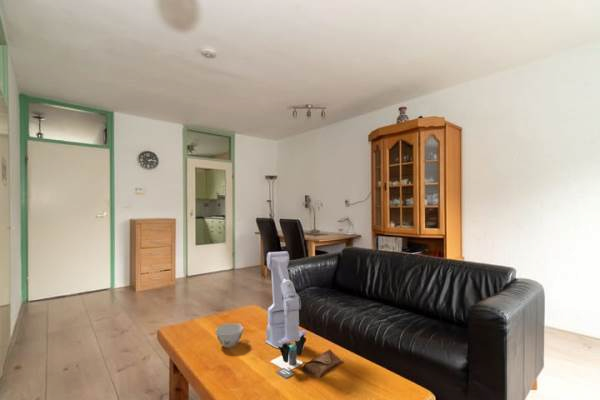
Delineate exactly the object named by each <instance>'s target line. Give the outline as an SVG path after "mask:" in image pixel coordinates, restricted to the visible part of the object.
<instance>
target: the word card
mask: <svg viewBox="0 0 600 400" xmlns="http://www.w3.org/2000/svg"><path fill="white" fill-rule="evenodd" d="M275 373H276V374H277V375H279V376H281V377H283V378H284V379H285V380H286V379H289V378H290V377H293V376H294V372H292V371H288V370H287V369H285V368H282V369H281V368H280V369H279V370H277V371H275Z"/></svg>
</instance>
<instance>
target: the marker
mask: <svg viewBox="0 0 600 400" xmlns="http://www.w3.org/2000/svg"><path fill="white" fill-rule="evenodd" d="M288 346H289V347H290V350H289V365H296V364H297V360H298V359H297V354H296V349H297V346H296V344H294V343H293V344H289V345H288ZM296 359H297V360H296Z"/></svg>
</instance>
